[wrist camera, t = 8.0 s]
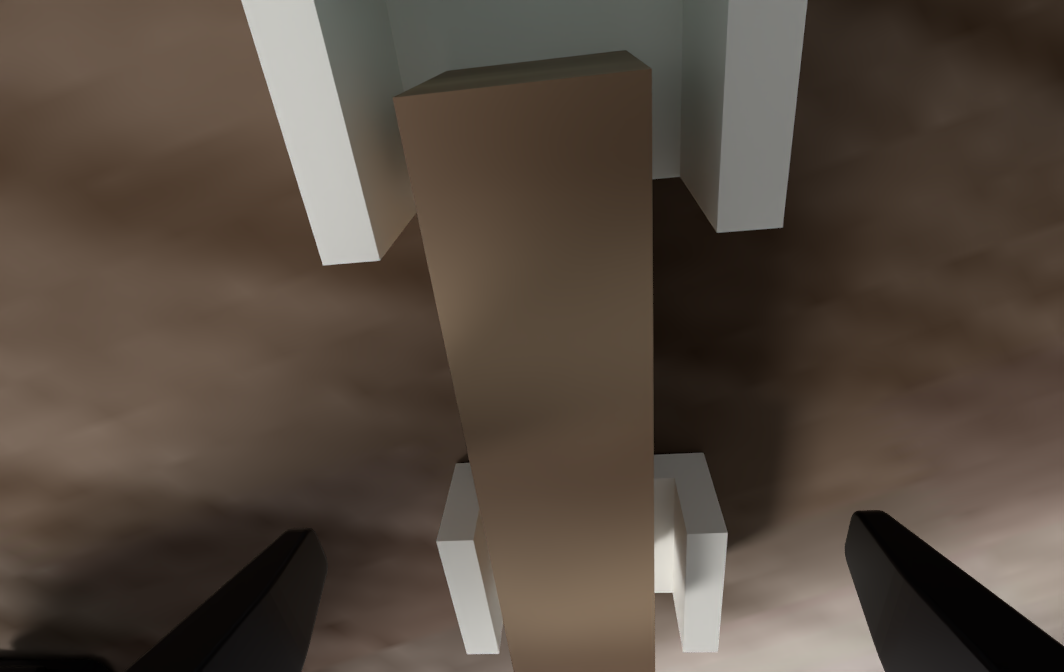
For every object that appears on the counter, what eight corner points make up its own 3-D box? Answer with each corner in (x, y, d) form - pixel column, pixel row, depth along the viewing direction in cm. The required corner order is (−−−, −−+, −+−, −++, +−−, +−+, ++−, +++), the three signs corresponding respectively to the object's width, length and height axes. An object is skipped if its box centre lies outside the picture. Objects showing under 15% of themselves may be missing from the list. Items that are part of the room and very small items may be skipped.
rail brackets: (698, 566, 19) (744, 769, 14) (480, 571, 20) (449, 766, 15) (736, -230, 10) (933, -511, 4) (313, -162, 10) (57, -332, 5)
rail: (638, 551, 18) (655, 682, 14) (526, 553, 18) (515, 682, 15) (625, 49, 11) (652, 68, 7) (447, 70, 11) (392, 97, 8)
